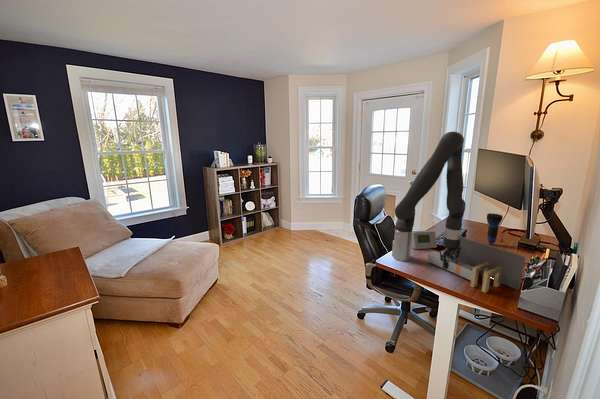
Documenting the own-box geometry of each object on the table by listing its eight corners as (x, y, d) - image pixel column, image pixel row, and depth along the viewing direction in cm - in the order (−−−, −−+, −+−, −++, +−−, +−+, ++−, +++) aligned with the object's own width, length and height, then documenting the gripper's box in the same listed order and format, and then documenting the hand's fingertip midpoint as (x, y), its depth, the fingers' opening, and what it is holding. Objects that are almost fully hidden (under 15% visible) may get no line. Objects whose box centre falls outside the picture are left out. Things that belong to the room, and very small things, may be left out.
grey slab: (427, 261, 146) (428, 252, 145) (433, 259, 148) (434, 250, 147) (471, 281, 125) (473, 271, 124) (478, 278, 128) (479, 268, 126)
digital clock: (412, 249, 164) (413, 233, 161) (407, 244, 172) (409, 228, 170) (439, 250, 162) (441, 234, 160) (433, 244, 171) (435, 229, 169)
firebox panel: (450, 261, 147) (453, 234, 143) (451, 261, 147) (455, 234, 144) (517, 289, 119) (524, 257, 116) (519, 289, 120) (525, 256, 116)
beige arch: (470, 286, 123) (472, 267, 121) (484, 279, 128) (487, 261, 126) (473, 287, 122) (476, 268, 119) (488, 280, 127) (490, 262, 125)
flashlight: (488, 241, 175) (493, 212, 170) (500, 245, 167) (505, 215, 163) (479, 243, 172) (484, 213, 168) (491, 247, 165) (496, 217, 160)
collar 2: (481, 291, 118) (484, 272, 116) (496, 284, 124) (499, 265, 122) (485, 292, 117) (488, 273, 115) (499, 285, 123) (502, 267, 120)
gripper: (453, 231, 141) (450, 261, 144) (436, 236, 134) (433, 267, 138) (468, 236, 134) (463, 266, 138) (450, 241, 128) (446, 273, 131)
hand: (448, 266), depth 138 cm, fingers closed on grey slab, 5 cm apart
